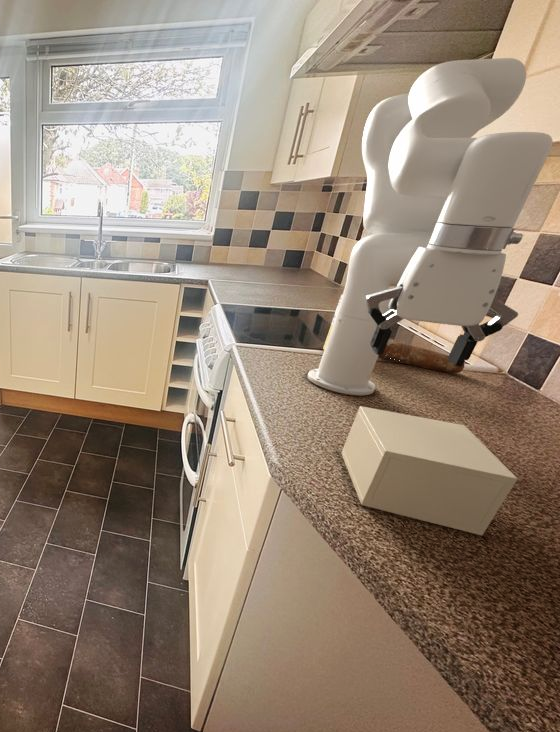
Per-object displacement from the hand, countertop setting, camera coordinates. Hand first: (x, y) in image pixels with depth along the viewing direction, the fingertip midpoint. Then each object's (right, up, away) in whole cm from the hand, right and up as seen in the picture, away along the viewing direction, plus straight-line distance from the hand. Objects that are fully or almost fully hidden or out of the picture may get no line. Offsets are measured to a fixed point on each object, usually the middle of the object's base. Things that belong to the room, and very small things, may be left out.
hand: (414, 357), depth 63 cm
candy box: (+24, +4, +49) cm, 54 cm away
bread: (+37, +1, +44) cm, 57 cm away
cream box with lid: (-6, -19, -5) cm, 20 cm away
